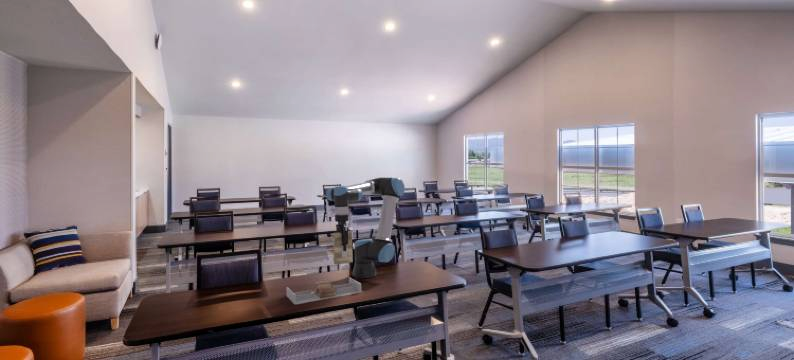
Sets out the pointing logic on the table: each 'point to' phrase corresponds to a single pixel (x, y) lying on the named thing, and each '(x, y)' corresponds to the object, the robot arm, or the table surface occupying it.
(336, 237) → the tan wooden block
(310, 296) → the rack
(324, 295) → the offcut bottom
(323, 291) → the offcut middle
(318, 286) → the offcut top
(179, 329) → the table surface
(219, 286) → the table surface
